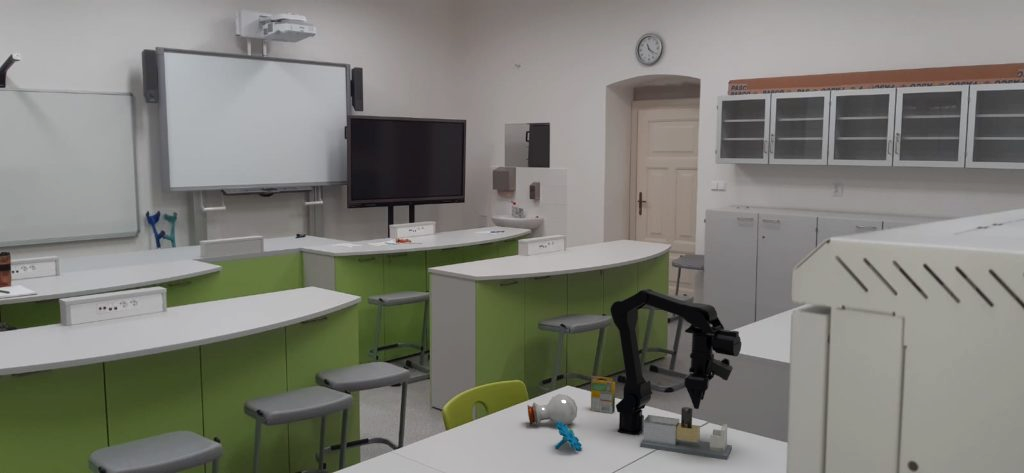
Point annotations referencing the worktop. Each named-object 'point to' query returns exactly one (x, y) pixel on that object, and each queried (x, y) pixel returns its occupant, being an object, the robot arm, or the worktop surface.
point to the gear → (567, 437)
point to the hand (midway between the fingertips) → (698, 404)
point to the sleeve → (660, 430)
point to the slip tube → (687, 427)
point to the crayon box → (602, 394)
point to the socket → (719, 440)
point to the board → (690, 448)
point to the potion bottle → (554, 410)
